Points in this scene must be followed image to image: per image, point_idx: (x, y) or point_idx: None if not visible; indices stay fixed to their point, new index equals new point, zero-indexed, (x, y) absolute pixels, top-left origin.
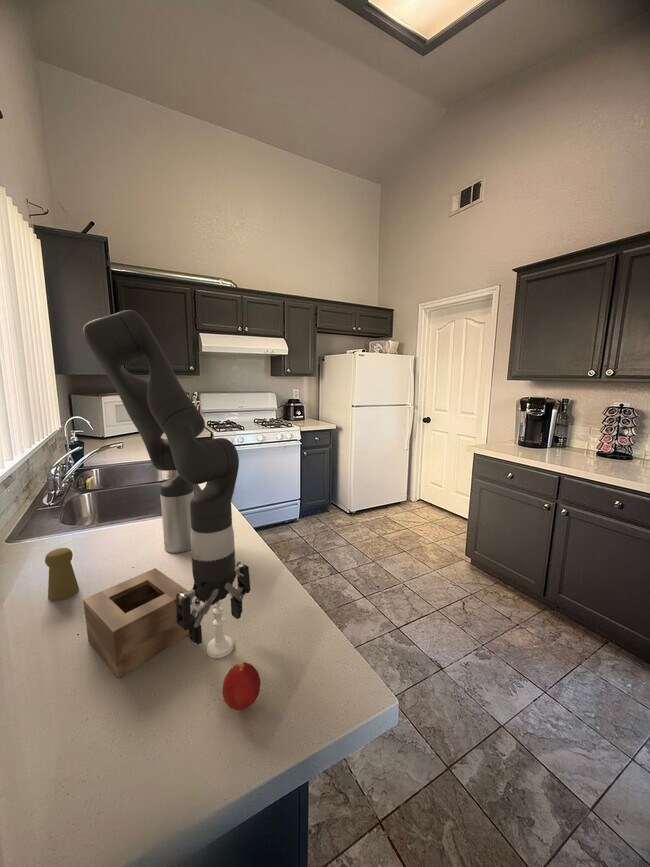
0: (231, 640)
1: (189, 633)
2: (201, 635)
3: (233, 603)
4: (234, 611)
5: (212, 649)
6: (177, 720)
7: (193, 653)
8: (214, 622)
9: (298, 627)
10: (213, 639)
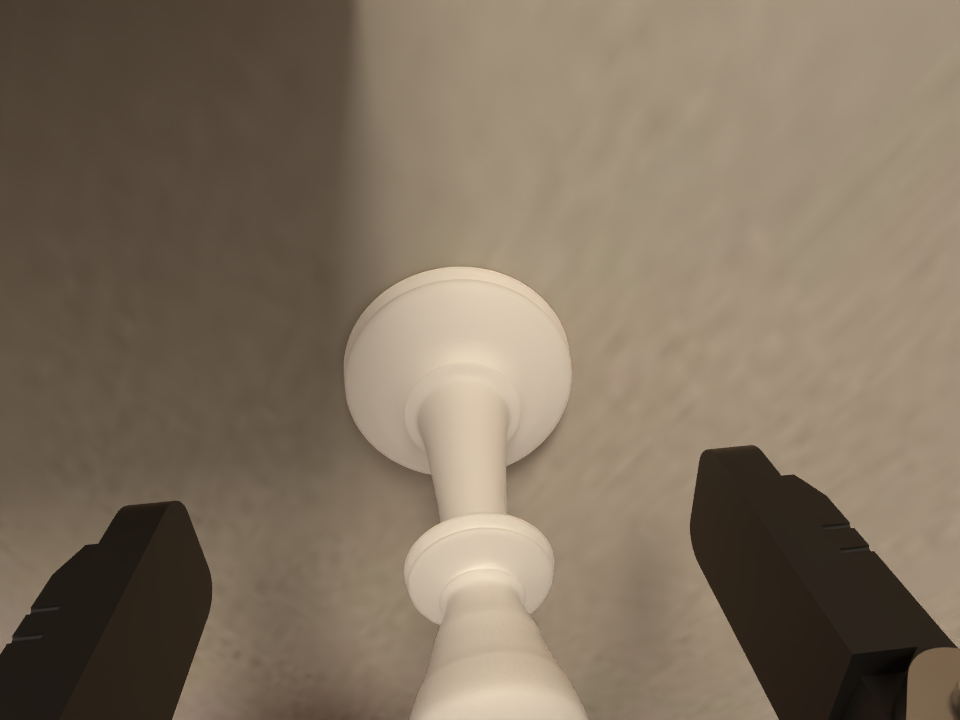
0: (552, 423)
1: (15, 645)
2: (176, 691)
3: (795, 652)
4: (732, 553)
5: (375, 413)
6: (8, 641)
7: (247, 264)
8: (421, 584)
9: (934, 565)
10: (445, 315)
